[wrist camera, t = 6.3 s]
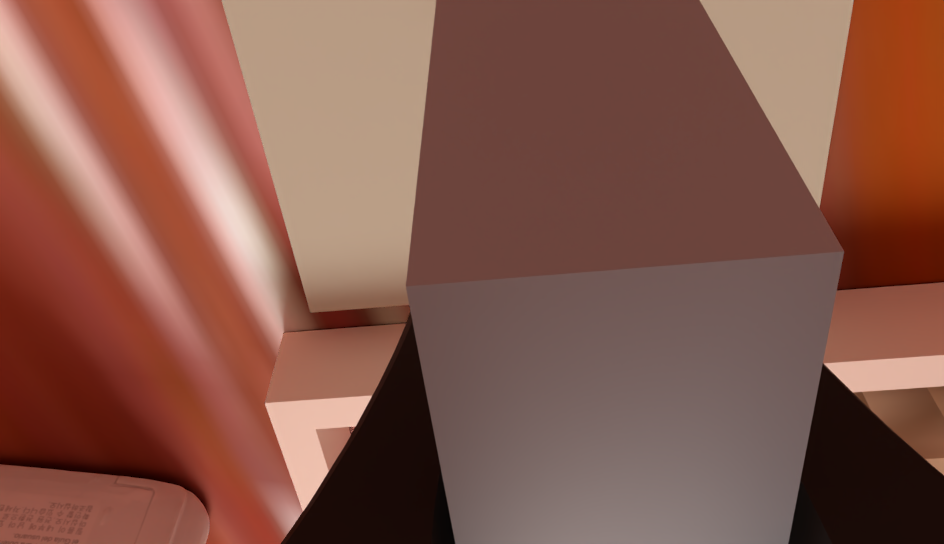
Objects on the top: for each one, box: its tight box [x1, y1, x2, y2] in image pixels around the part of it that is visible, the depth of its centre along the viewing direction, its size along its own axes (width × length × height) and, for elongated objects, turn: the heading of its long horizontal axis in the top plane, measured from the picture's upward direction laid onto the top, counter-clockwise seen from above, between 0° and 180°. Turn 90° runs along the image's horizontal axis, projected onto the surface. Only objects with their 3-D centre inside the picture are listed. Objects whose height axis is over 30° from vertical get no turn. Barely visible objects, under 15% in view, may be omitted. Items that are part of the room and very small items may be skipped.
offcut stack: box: [853, 386, 944, 475], centre depth 23 cm, size 5×7×4 cm
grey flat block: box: [406, 0, 844, 544], centre depth 10 cm, size 2×8×7 cm, turn 6°
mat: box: [222, 0, 854, 313], centre depth 17 cm, size 12×12×1 cm
